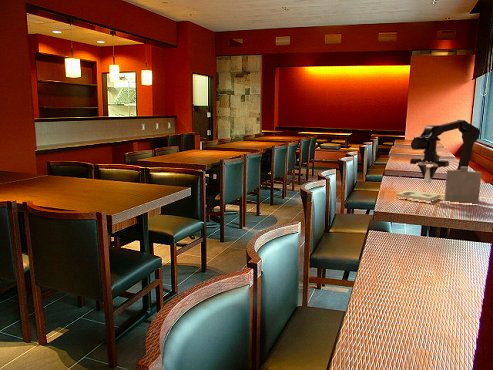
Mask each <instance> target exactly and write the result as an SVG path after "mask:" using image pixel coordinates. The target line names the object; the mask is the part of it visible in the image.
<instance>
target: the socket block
mask: <svg viewBox="0 0 493 370" xmlns="http://www.w3.org/2000/svg"><path fill="white" fill-rule="evenodd" d="M397 196H400V197H406V198H413V199H419V200H426V201H432V200H435V199H438V198H440V197H441V194H437V193H430V192H424V191H423V192H422V191H417V190H410V189H407V190H403V191H401V192H397V193H396V197H397Z"/></svg>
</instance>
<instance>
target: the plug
mask: <svg viewBox="0 0 493 370" xmlns="http://www.w3.org/2000/svg"><path fill="white" fill-rule="evenodd" d="M431 167H432V166H426V167H425V178H424V177H423V178H424V179H423V181H424V183H429V184H430V183H432V179H431Z"/></svg>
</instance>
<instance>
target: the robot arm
mask: <svg viewBox="0 0 493 370" xmlns="http://www.w3.org/2000/svg"><path fill="white" fill-rule="evenodd" d="M453 130H458V131H459V133H461V139H462V147H461V150H460V151H461V152H460V157H459V161H458V165H457V168H456V170H461V167H468V168H469V165H470V161H471V156H472V152H473V148H474V145H475V143H476V142H478V140H479V136H480V133H481V131H480V129H479V128H478V127H476V126H475V125H473V124H471V123H469V122H468V121H466V120H465V119H458V120H454V121H451V122H446V123H442V124H433V125H432V124H431V125H426V126H425V127H424V129H423V131H422V132H421V133H420V135H419V136H413V139H412V140H411V142H410V148H411V150H413V151H417V150H419V151H421V150H422V151H423V153H422V154H423V158H420V157H418V158H417V157H414V158H413V157H412V158H410V160H409V164H410V165H416V164H417V165H416V167H418V168H419V170H420V171H421V175H422V177H423V178H425V167H427V165H432V166H430V167H431V180H432V179H433V177H434V175H435V173H436V171H437V170H438V169H439V168H446V167H450V162H449V160H444V159H443V160H442V159H441V160H440V155H439V154H438V151H437V143H438V142H441V138H439V137H440V136H441V135H443V133H446V132H450V131H453ZM438 136H439V137H438Z"/></svg>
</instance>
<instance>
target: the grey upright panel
mask: <svg viewBox="0 0 493 370" xmlns="http://www.w3.org/2000/svg"><path fill="white" fill-rule="evenodd" d="M445 178H446V179H445V191H444V200H443V201H450V202H459V203H472V204H478V205H479V201H480V191H481V182H482V181H481V180H482V172H481V171H469V166H468V167H461V170H457V169H448V170H446V177H445Z"/></svg>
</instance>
